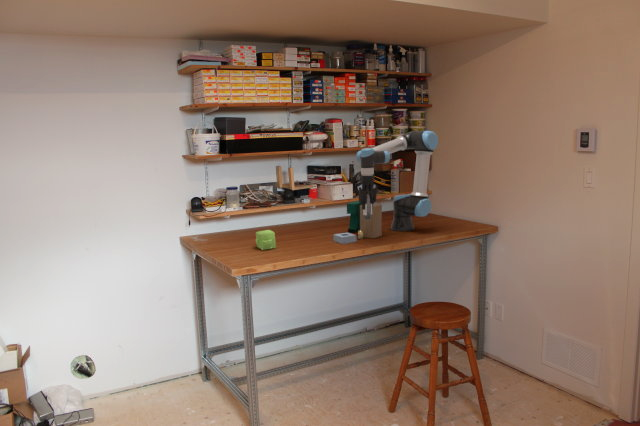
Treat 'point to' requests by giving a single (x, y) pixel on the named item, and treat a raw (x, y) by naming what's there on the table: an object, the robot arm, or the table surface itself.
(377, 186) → the robot arm
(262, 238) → the green block
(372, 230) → the wooden block
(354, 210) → the power tool
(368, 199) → the long pin
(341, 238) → the grey flat block
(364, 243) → the table surface
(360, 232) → the short pin
